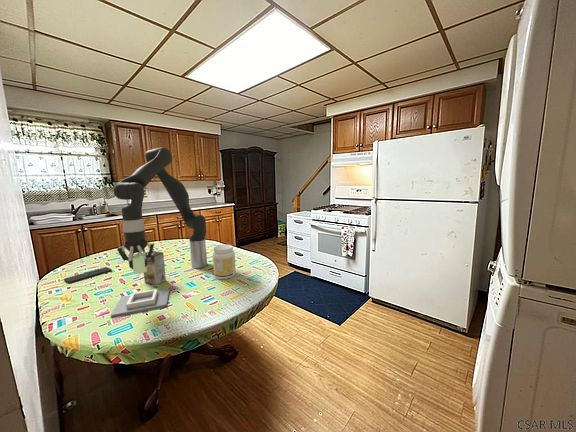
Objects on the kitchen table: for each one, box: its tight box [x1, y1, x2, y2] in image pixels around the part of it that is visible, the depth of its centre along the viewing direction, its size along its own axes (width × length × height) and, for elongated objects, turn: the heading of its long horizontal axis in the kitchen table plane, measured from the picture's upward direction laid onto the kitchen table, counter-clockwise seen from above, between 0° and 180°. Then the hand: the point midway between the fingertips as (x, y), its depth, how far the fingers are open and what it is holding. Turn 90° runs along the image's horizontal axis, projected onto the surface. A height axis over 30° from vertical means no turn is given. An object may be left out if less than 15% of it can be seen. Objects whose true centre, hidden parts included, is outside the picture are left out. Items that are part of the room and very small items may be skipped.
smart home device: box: [63, 266, 113, 285], centre depth 134 cm, size 8×2×20 cm
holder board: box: [110, 288, 170, 318], centre depth 104 cm, size 20×16×3 cm
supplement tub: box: [212, 244, 237, 280], centre depth 131 cm, size 12×12×17 cm
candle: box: [132, 253, 147, 275], centre depth 101 cm, size 5×5×8 cm
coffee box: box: [143, 250, 167, 286], centre depth 125 cm, size 9×6×16 cm
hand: (139, 267), depth 102 cm, fingers closed on candle, 4 cm apart
